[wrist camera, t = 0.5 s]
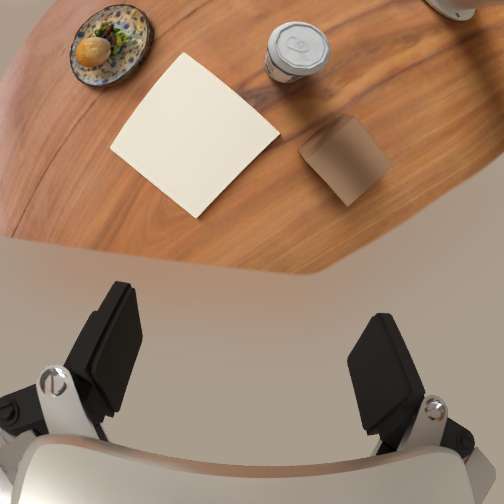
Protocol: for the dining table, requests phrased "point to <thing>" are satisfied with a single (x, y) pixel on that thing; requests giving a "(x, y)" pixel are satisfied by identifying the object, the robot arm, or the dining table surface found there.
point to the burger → (111, 46)
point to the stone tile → (192, 135)
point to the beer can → (296, 52)
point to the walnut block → (345, 157)
